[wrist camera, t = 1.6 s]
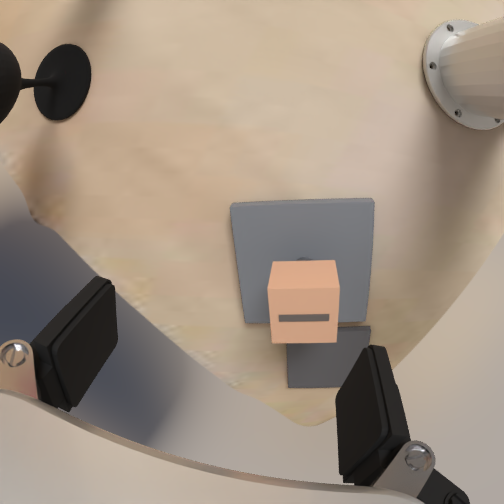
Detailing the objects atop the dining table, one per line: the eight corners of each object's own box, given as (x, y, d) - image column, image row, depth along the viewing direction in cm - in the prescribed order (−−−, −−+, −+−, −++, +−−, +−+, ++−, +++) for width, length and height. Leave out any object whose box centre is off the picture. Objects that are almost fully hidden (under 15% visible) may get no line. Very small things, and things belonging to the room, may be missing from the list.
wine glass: (27, 77, 30) (-91, 95, 12) (75, 28, 27) (-54, 16, 9) (51, 135, 34) (-73, 177, 16) (103, 89, 31) (-38, 104, 13)
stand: (371, 198, 32) (374, 202, 31) (363, 313, 38) (365, 321, 37) (232, 203, 35) (229, 207, 33) (247, 315, 41) (245, 322, 40)
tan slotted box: (334, 259, 30) (339, 288, 25) (333, 311, 32) (336, 343, 28) (272, 261, 31) (267, 289, 26) (276, 311, 34) (271, 343, 29)
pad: (369, 325, 39) (370, 330, 38) (360, 381, 44) (361, 386, 43) (286, 328, 41) (286, 332, 40) (288, 383, 46) (288, 387, 45)
